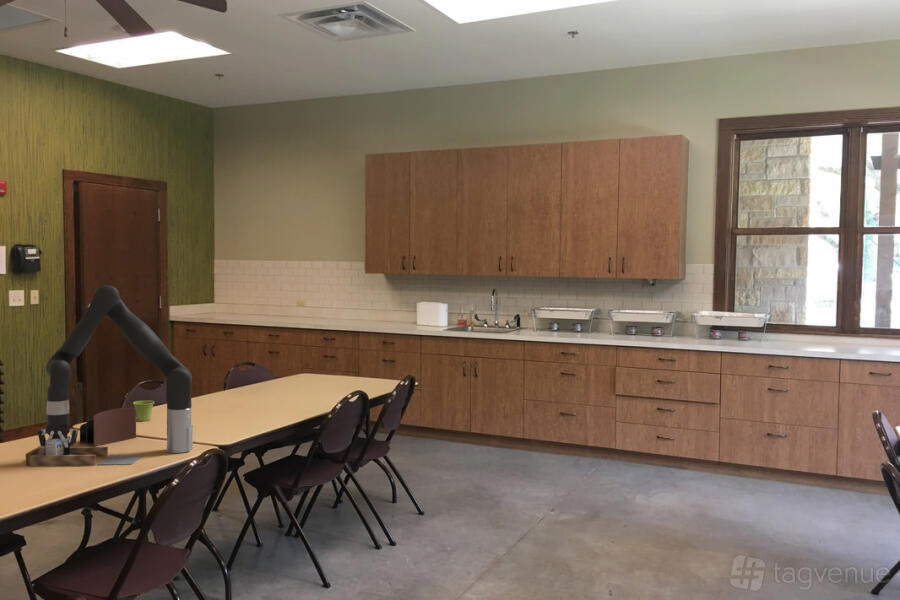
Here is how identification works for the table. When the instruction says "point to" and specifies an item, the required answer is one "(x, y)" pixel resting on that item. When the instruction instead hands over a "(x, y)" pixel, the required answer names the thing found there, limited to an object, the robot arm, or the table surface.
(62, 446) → the medicine box
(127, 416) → the letter holder
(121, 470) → the table surface
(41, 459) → the frame
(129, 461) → the slate mat
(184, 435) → the robot arm
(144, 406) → the plant pot
